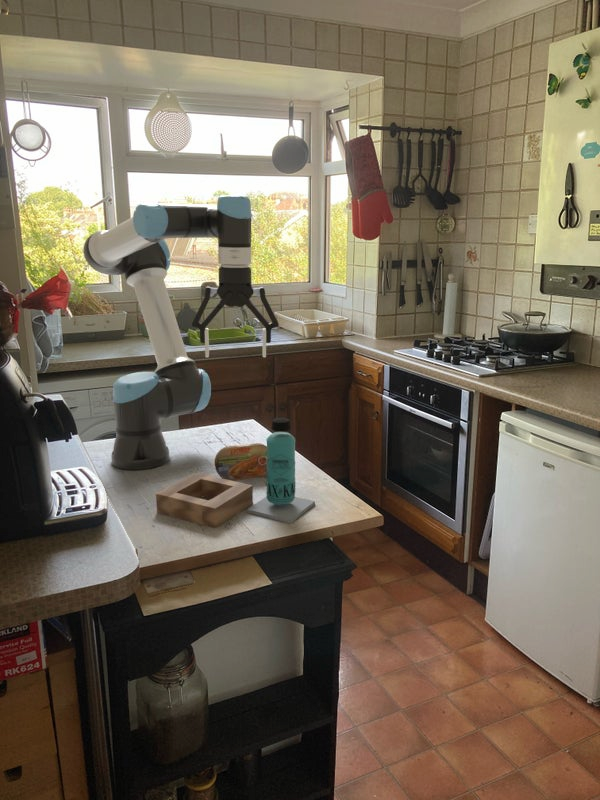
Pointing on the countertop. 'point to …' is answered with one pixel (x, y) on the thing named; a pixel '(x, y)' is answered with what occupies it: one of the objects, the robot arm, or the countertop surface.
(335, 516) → the countertop surface
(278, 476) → the beverage bottle
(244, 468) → the tin
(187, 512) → the walnut bottle holder
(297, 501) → the slate mat
